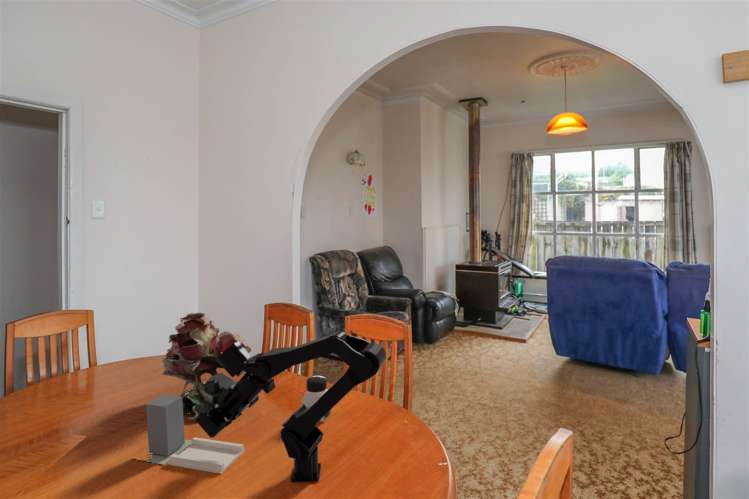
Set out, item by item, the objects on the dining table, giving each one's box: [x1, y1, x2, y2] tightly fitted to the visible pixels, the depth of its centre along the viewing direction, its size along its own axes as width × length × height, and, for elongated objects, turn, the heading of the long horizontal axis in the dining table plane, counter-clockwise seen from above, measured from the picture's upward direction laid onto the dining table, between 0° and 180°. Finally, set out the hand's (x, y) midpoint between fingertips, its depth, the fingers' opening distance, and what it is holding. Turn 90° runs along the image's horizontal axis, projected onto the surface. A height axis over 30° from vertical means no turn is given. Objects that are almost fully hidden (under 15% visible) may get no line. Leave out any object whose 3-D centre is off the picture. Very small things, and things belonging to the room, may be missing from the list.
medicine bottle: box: [301, 375, 333, 423], centre depth 129 cm, size 7×7×12 cm
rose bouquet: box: [161, 312, 252, 421], centre depth 141 cm, size 26×29×30 cm
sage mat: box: [135, 439, 192, 466], centre depth 112 cm, size 10×11×1 cm
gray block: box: [145, 394, 186, 456], centre depth 111 cm, size 6×6×13 cm
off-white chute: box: [168, 436, 245, 475], centre depth 108 cm, size 15×10×2 cm, turn 74°
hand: (210, 428), depth 107 cm, fingers closed
